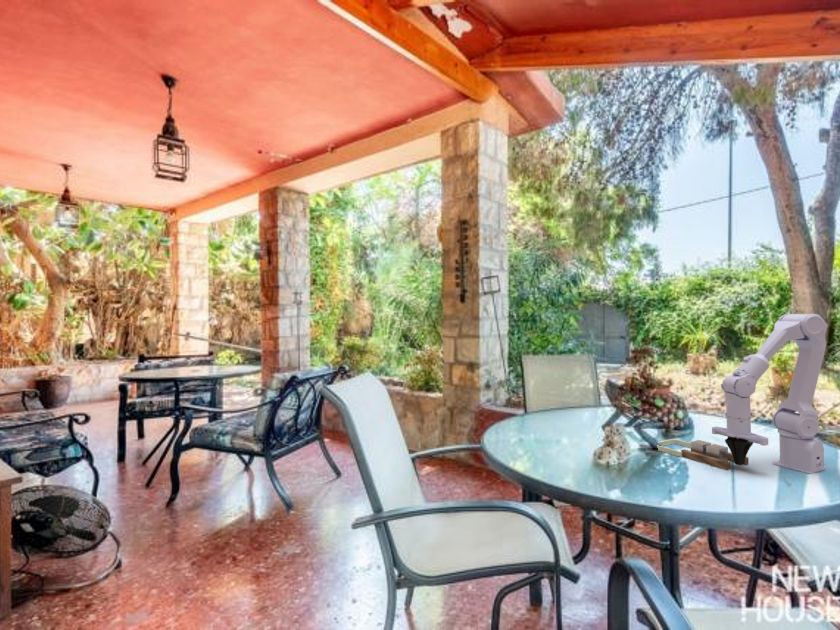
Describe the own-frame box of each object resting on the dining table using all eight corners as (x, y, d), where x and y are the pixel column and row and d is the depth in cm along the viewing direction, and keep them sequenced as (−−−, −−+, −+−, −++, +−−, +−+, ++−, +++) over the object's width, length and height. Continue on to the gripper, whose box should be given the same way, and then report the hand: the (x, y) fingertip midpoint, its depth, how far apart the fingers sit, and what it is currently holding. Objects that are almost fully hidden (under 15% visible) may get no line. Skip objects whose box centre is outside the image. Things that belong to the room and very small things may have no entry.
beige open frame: (705, 451, 149) (705, 446, 149) (681, 457, 144) (680, 452, 144) (674, 442, 159) (674, 438, 159) (650, 447, 154) (650, 443, 154)
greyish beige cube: (711, 457, 143) (711, 443, 143) (703, 459, 142) (702, 445, 141) (699, 454, 147) (699, 440, 147) (690, 456, 145) (690, 441, 145)
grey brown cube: (728, 462, 139) (727, 447, 139) (719, 464, 137) (719, 449, 137) (714, 458, 142) (714, 444, 142) (706, 460, 141) (706, 445, 141)
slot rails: (748, 464, 136) (748, 457, 136) (726, 470, 132) (726, 463, 132) (702, 451, 149) (702, 445, 149) (681, 456, 145) (681, 450, 145)
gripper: (704, 413, 138) (705, 459, 139) (756, 424, 125) (757, 474, 125) (720, 411, 141) (721, 455, 142) (772, 421, 128) (773, 469, 128)
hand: (739, 464), depth 134 cm, fingers closed
